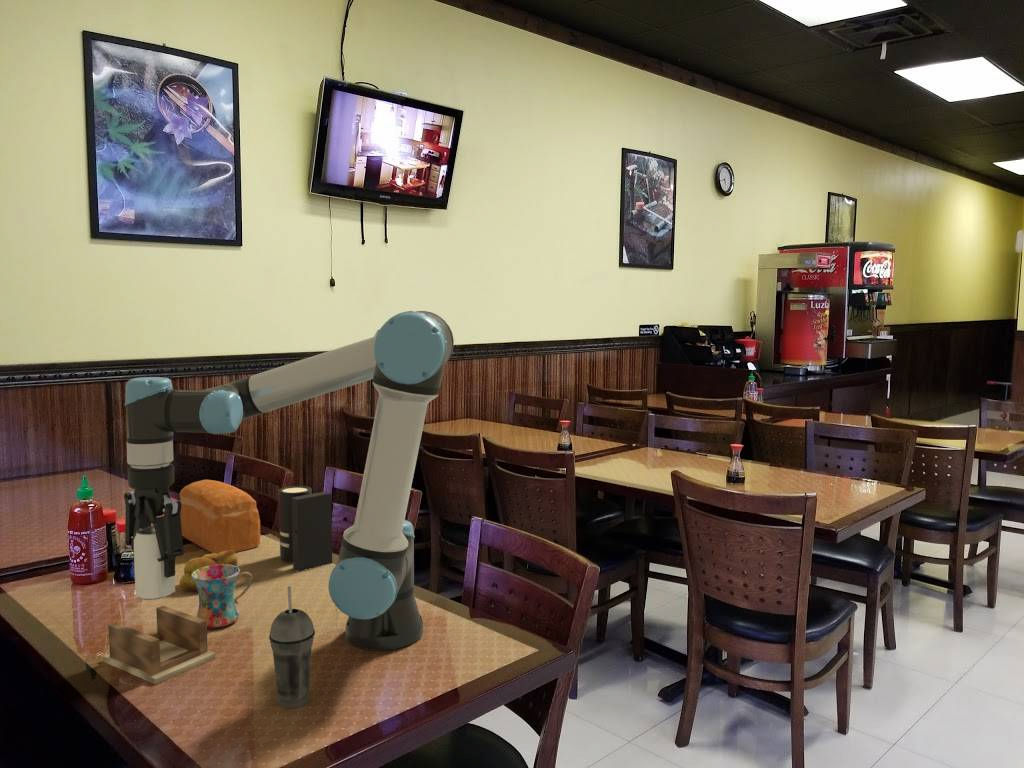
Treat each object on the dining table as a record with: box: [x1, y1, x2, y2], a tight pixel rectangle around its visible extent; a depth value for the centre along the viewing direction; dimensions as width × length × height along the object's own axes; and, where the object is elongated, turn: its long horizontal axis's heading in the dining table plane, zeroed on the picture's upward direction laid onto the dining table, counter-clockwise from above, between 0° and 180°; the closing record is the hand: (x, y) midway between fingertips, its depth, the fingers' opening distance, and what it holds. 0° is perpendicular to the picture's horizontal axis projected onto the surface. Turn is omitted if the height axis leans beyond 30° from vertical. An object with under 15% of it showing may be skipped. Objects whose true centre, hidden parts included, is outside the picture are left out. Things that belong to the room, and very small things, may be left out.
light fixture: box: [278, 485, 333, 572], centre depth 199 cm, size 10×14×18 cm
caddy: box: [102, 605, 216, 685], centre depth 144 cm, size 16×12×7 cm
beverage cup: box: [268, 585, 316, 709], centre depth 129 cm, size 7×7×20 cm
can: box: [133, 524, 174, 601], centre depth 143 cm, size 6×6×12 cm
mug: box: [191, 564, 254, 629], centre depth 162 cm, size 12×9×11 cm
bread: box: [179, 479, 261, 554], centre depth 214 cm, size 14×26×16 cm, turn 43°
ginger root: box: [179, 550, 239, 591], centre depth 182 cm, size 13×10×8 cm
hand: (155, 589), depth 143 cm, fingers closed on can, 6 cm apart
